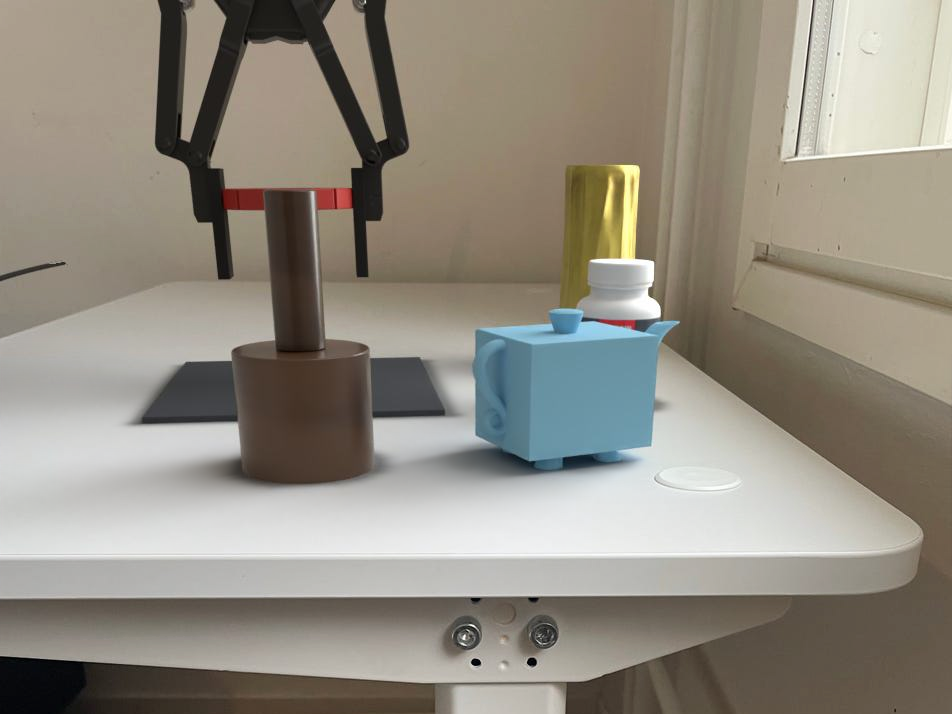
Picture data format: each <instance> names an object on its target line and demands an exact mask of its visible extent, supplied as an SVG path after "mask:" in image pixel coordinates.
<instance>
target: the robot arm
mask: <svg viewBox="0 0 952 714" xmlns="http://www.w3.org/2000/svg"><path fill="white" fill-rule="evenodd" d="M213 1H214V3H215V5H216V6H217V7H218V8H219V10H220V11H221V13H222V15H224V17H225V20H224V24H223V27H222V31H221V34H220V37H219V41H218V48H217V51H216V55H215V57H214V61H213V64H212V67H211V70H210V75H209V76H208V81H207V84H206V86H205V87H206V88H205V90H204V93H203V97H202V101H201V104H200V106H199V110H198V113H197V116H196V120H195V123H194V126H193V129H192V133H191V137H190V140H189V141H188V140H185V139H182V131H183V130H182V129H183V128H182V127H183V110H184V94H185V93H184V92H185V78H186V77H185V75H186V59H187V58H186V57H187V42H188V39H187V38H188V19H187V14H188V13H191V12H192V11H194V9H195V7H196V0H157V3H158V9H159V11H160V24H159V25H160V27H159V28H160V29H159V45H158V47H159V49H158V67H157V89H156V111H155V130H154V131H155V132H154V147H155V149H156V151H157V152H158V153H159V154H161V155H163V156H166V157H168V158H171V159H174V160H176V161H179V162H181V163H182V164H184V166H185V167H186V168H187V171H188V174H189V184H190V193H191V194H190V195H191V201H192V203H191V204H192V210H193V211H192V212H193V216H194V218H195V220H196V222H197V223H199V224H206V223H207V224H211V223H212V231H213V232H212V233H213V243H214V252H215V254H214V255H215V262H216V264H215V265H216V270H217V280H219V281H220V280H223V281H224V280H227V281H229V280H231V279H232V278H234V275H235V274H234V264H233V263H234V262H233V253H232V243H231V232H230V224H229V212H228V211H229V210H225V209H224V207H223V197H222V189H226V183H225V182H226V181H225V173H224V168H223V167H222V168H221V167H214V168H213V167H212V166H211V163H212V161H211V160H212V157H213V154H214V150H215V147H216V144H217V142H218V138H219V134H220V131H221V128H222V126H223V121H224V119H225V115H226V111H227V109H228V105H229V103H230V100H231V96H232V93H233V90H234V86H235V83H236V81H237V77H238V74H239V70H240V67H241V64H242V61H243V60H244V57H245V54H246V51H247V47H248V45H249V43H251V44H252V45H266V44H269V43H274V42H276V41H280V42H283V43H286V44H289V45H304V43H306V42H307V44H308V46H309V49H310V50H311V52H312V55H313V57H314V59H315V61H316V63H317V65H318V67H319V69H320V71H321V74H322V76H323V78H324V81H325V82H326V85H327V87H328V90H329V92H330V94H331V96H332V98H333V100H334V103H335V105H336V106H337V109H338V111H339V114H340V115H341V118H342V120H343V122H344V124H345V127H346V129H347V131H348V133H349V136H350V137H351V140H352V142H353V144H354V147H355V148H356V151H357V153H358V155H359V157H360V159H361V167H351V168H350V179H351V180H350V181H351V188H352V190H353V209H352V219H353V221H352V222H353V234H354V235H353V237H354V238H353V239H354V259H355V274H356V278H370V277H369V257H368V256H369V255H368V235H367V233H368V231H367V222H381V221H382V219H383V215H384V198H383V196H384V194H383V193H384V192H383V167H384V166H385V164H387V162H388V161H390V160H391V161H392V160H394V159H395V158H398V157H400V156H403V155H405V154H406V153H407V152H408V151H409V149H410V139H409V134H408V128H407V124H406V123H407V122H406V119H405V114H404V113H405V112H404V109H403V103H402V97H401V93H400V88H399V82H398V78H397V72H396V67H395V62H394V57H393V52H392V47H391V46H392V45H391V42H390V36H389V32H388V26H387V22H386V21H387V20H386V10H387V1H388V0H351V6H352V9H353V11H354V12H355V13H356V14H357V15H360V16H363V22H364V31H365V38H366V41H367V48H368V52H369V57H370V63H371V68H372V72H373V77H374V82H375V86H376V87H375V88H376V92H377V97H378V102H379V107H380V111H381V117H382V121H383V126H384V130H385V131H384V132H385V137H386V138H384V139H381V140H379V141H376V139H375V136H374V134H373V132H372V130H371V127H370V126H369V123H368V121H367V118H366V116H365V114H364V112H363V110H362V107H361V105H360V103H359V100H358V99H357V96H356V94H355V91H354V90H353V87H352V85H351V83H350V80H349V79H348V76H347V74H346V71H345V69H344V67H343V65H342V62H341V60H340V58H339V55H338V54H337V51H336V49H335V47H334V43H333V41H332V39H331V37H330V35H329V32H328V31H327V28H326V26H325V24H324V21H325V19H326V18H327V16H328V14H329V13H330V11H331V9H332V7H333V5H334V3H335V2H336V0H213ZM49 263H50V262H47V263H43V264H39V265H34V266H29V267H27V268H26V267H25V268H22V269H18V270H14V271H11V272H8V273H7V272H6V273H4V274H0V282H4V281H7V280H10V279H12V278H16V277H20V276H23V275H28V274H30V273H34V272H38V271H43V270H47V269H51V268H57V267H61V266H66V265H67V264H66V263H65V262H61V263H56V264H49ZM65 264H66V265H65Z"/></svg>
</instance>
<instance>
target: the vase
mask: <svg viewBox="0 0 952 714" xmlns="http://www.w3.org/2000/svg"><path fill="white" fill-rule="evenodd" d="M640 173H641V172H640V166H639V165H637V164H566V166H565V170H564V188H565V189H564V210H563V211H564V212H563V213H564V217H563V242H562V243H563V245H562V261H561V273H560V290H559V305H558V306H559V307H558V309H576V307H577V304H578V303H579V301H580V300H581V299H583V298H584V297H586V296H589V295H590V292H591V286H589V285H588V284H587V283H588V265H589V261H590V260H595V259H636V242H637V241H636V240H637V239H636V238H637V222H638V206H639V205H638V202H639V184H640Z"/></svg>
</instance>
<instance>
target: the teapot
mask: <svg viewBox="0 0 952 714" xmlns="http://www.w3.org/2000/svg"><path fill="white" fill-rule="evenodd" d="M548 317H549V320H550V323H545V324H527V325H513V326H499V327H497V326H496V327H482V328H481V327H480V328H476V329H475V331H474V333H475V334H474V338H475V341H474V342H475V343H474V345H475V346H474V349H475V350H474V354H475V355H474V358H473V361H472V369H471V370H472V375H473V379H474V381H475V385H474V388H475V389H474V390H475V391H474V395H475V396H474V397H475V398H474V399H475V400H474V403H475V404H474V409H475V411H474V414H475V415H474V419H475V420H474V422H475V423H474V428H475V429H474V431H475V432H474V433H475V436H476V437H478V438H480V439H482V440H484V441H485V442H489V444H492V445H494V446H496V447H499V448H501V449H502V452H503V453H505V454H511V455H515V456H517V457H519V458H522V459H523V460H525V461H527V462H534V464H533V467H534V468H536V469H539V470H546V471H547V470H548V471H549V470H550V471H552V470H553V471H554V470H559V469H561V468H563V467H564V465H563V464H564V463H563V462H564V460H563V459H564V458H568V457H575V456H576V457H577V456H584V455H592V458H593V460H595V461H598V462H603V463H616V462H619V461H621V460H622V457H621V456H620V453H619V452H618V451H624V450H633V449H641V448H649V447H652V443H653V442H652V441H653V431H654V430H653V428H654V413H655V400H656V388H657V386H656V385H657V373H658V360H659V347H660V344H661V343H662V340H663V338H664V337H665V336H666V335H667V333H668V332H669V331H670V330H672V329H673V328H674V327H676V326H677V325H678V324H680V322H681V321H680V320H665V321H663V320H662V321H660V322H657V323H654V324H652V325H651V326H650V327H649V328H648V329H647V330H646V332H645V333H644V332H640V331H635V330H631V329H627V328H622V327H617V326H613V325H608V324H604V323H599V322H595V321H590V322H581V319H582V317H583V311H581V310H578V309H559V308H554V309H551V310H549V311H548Z"/></svg>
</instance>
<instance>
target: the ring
mask: <svg viewBox="0 0 952 714" xmlns="http://www.w3.org/2000/svg"><path fill="white" fill-rule="evenodd" d="M284 189H300V190H316V191H317V205H318V211H326V210H327V211H330V210H331V211H333V210H353V190H352V187H234V188H225V189H222V197H223V207H224V209H225V210H227V211H264V212H265V209H264V197H263V191H264V190H284Z"/></svg>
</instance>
